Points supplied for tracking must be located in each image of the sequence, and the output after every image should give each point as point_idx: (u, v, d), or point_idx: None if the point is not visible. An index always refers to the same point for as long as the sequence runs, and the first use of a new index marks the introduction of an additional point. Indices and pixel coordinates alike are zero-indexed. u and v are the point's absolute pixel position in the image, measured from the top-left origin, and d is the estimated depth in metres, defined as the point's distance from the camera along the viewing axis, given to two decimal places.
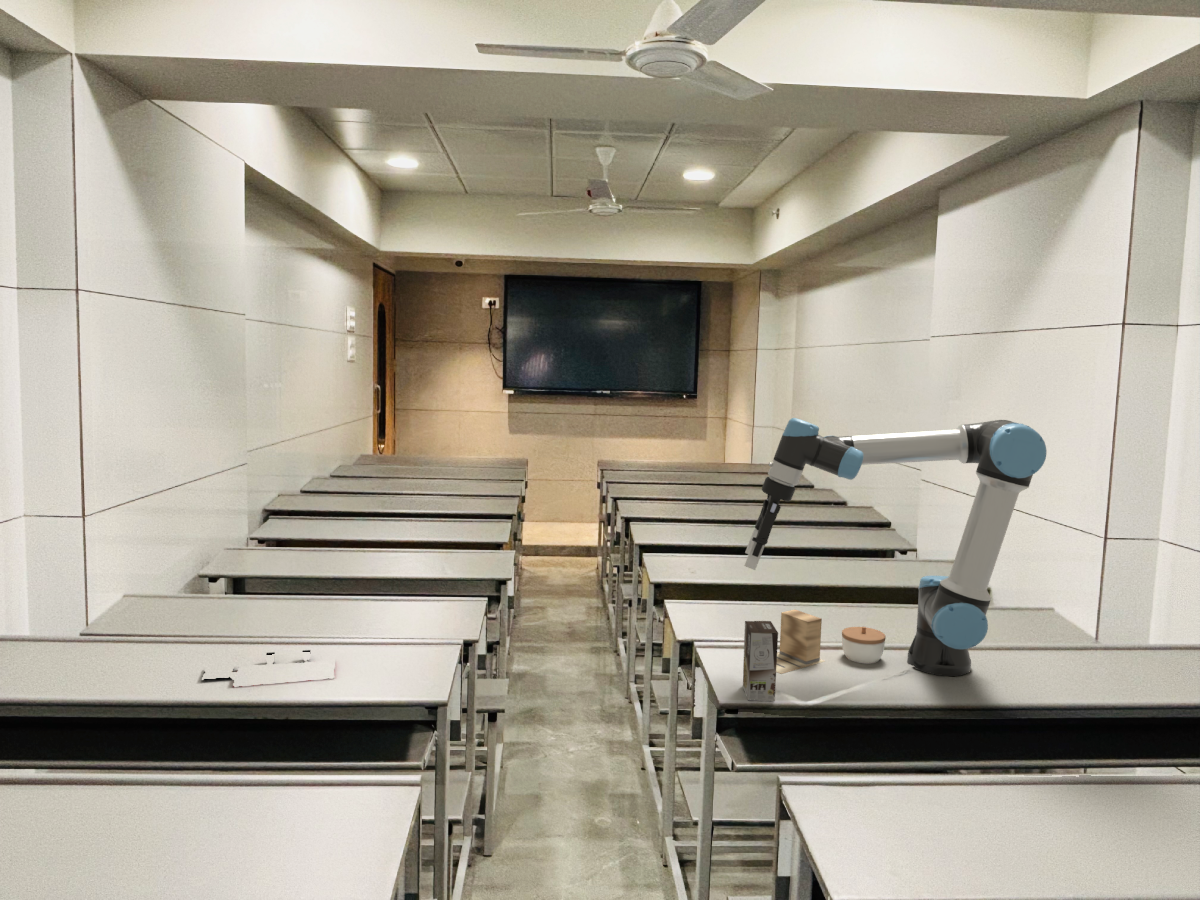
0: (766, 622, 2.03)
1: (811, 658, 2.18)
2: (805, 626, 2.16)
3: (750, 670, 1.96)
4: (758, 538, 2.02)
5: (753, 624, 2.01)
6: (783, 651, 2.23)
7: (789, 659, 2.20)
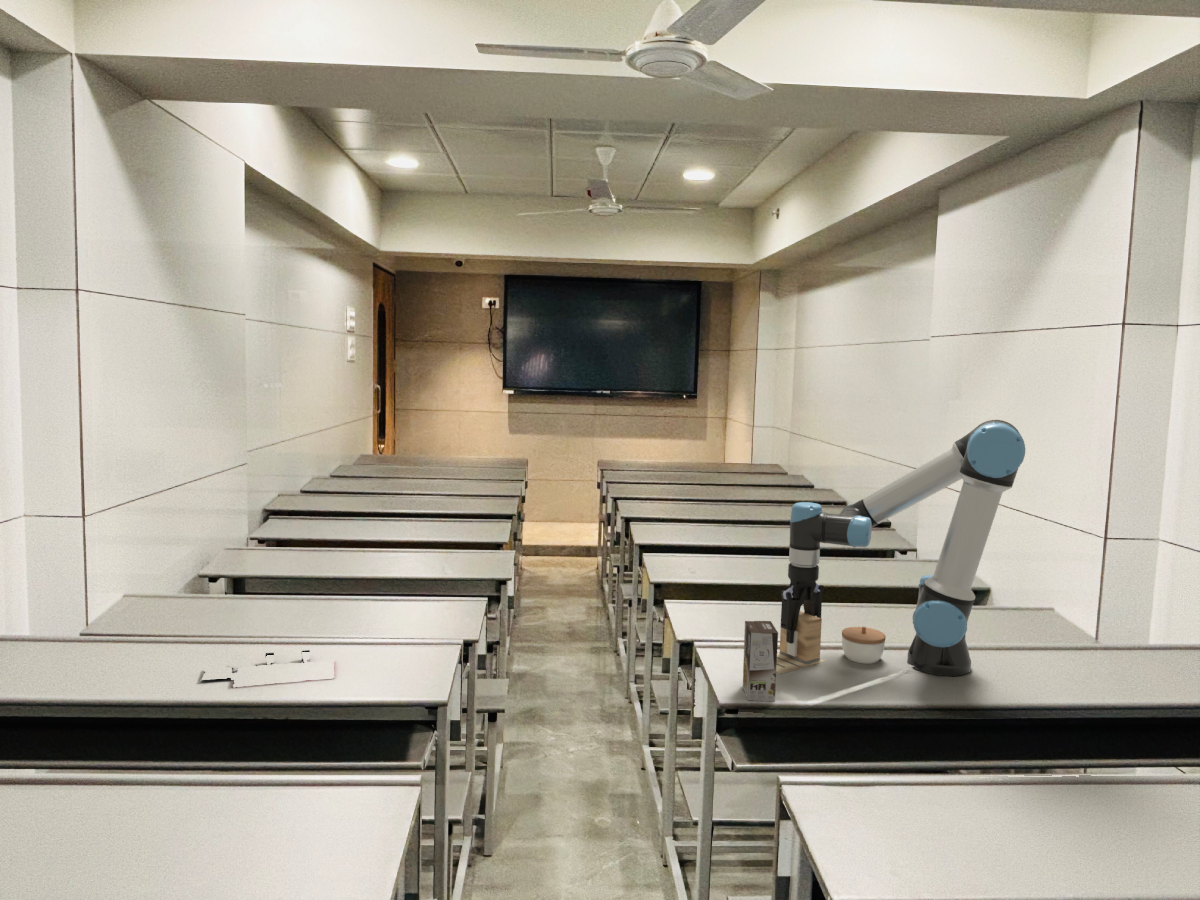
0: (766, 622, 2.03)
1: (811, 658, 2.18)
2: (805, 626, 2.16)
3: (750, 670, 1.96)
4: (781, 626, 2.18)
5: (753, 624, 2.01)
6: (783, 651, 2.23)
7: (789, 659, 2.20)
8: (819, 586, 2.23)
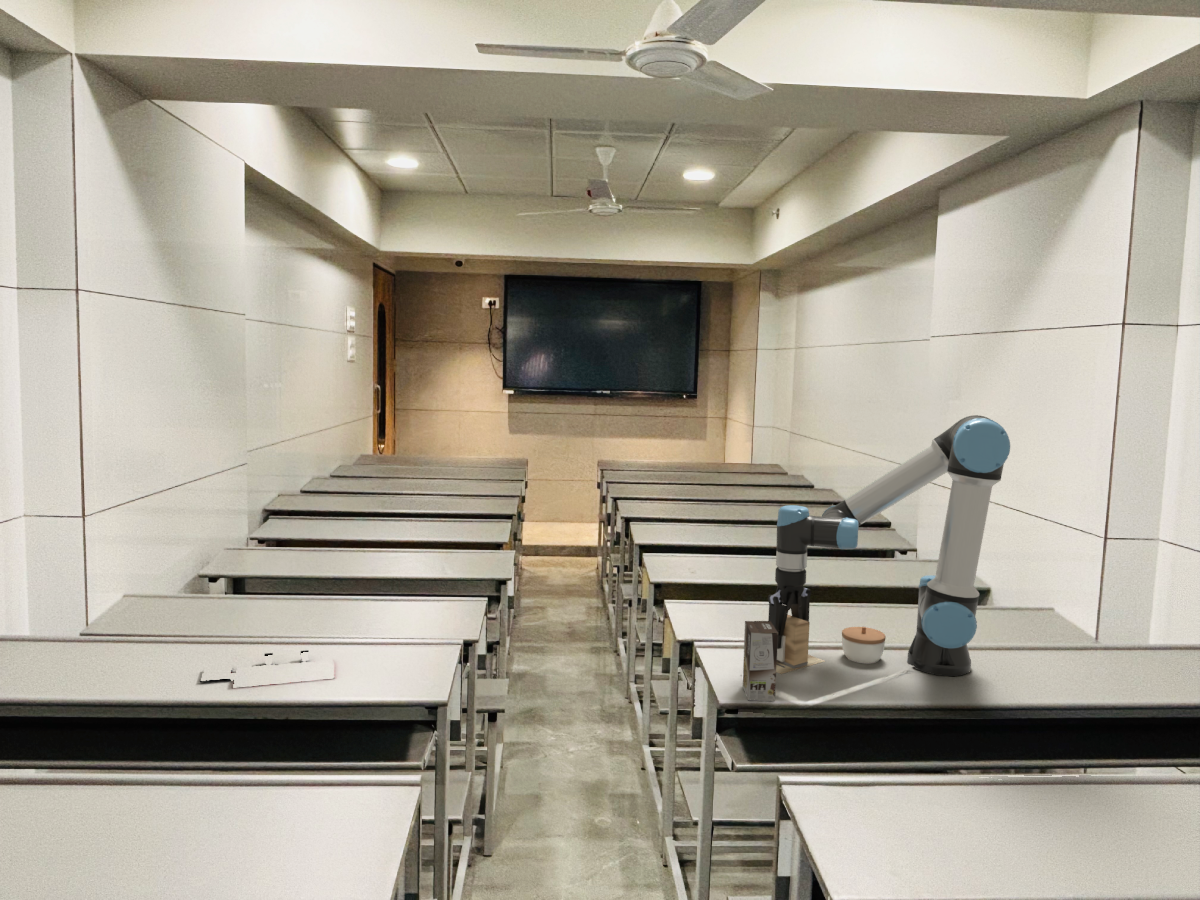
0: (766, 622, 2.03)
1: (799, 662, 2.15)
2: (793, 630, 2.13)
3: (750, 670, 1.96)
4: None
5: (753, 624, 2.01)
6: None
7: None
8: (807, 590, 2.20)
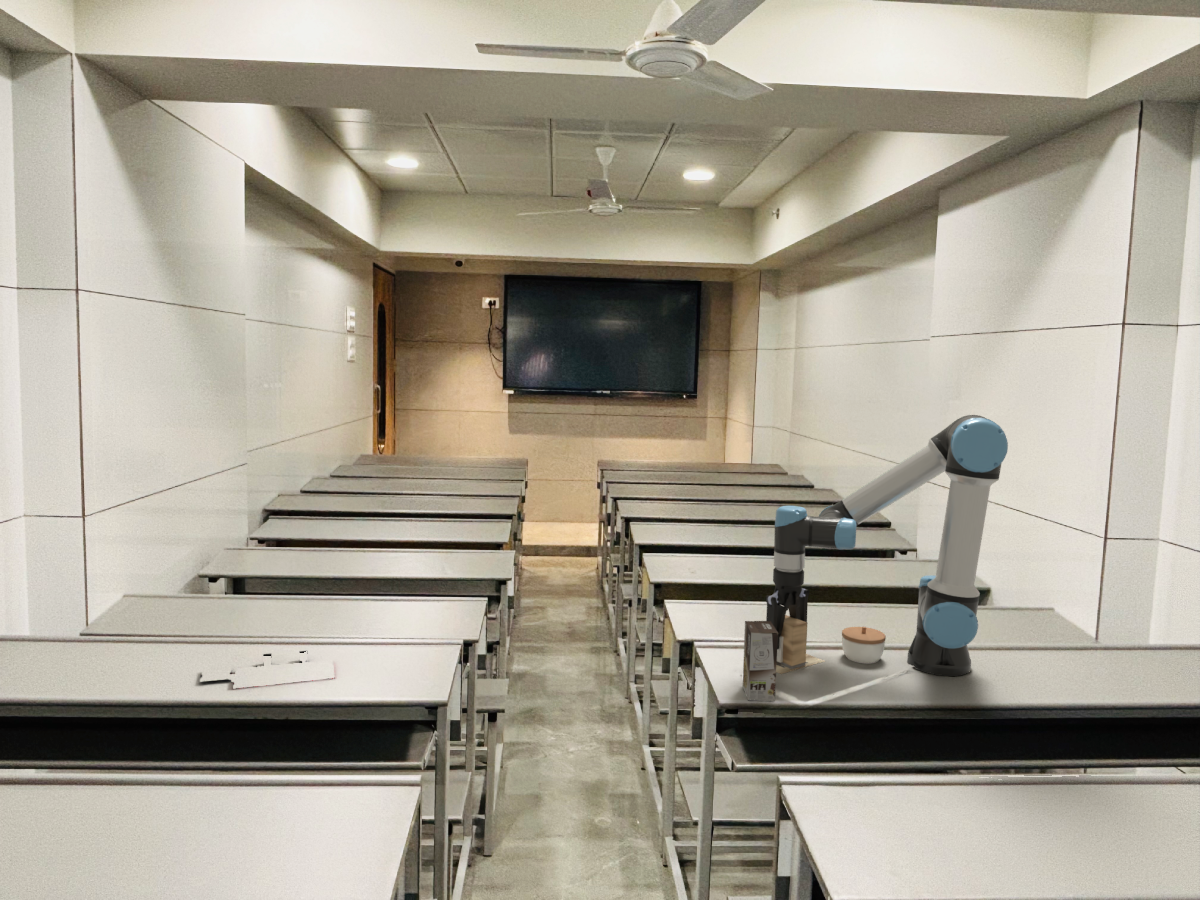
0: (766, 622, 2.03)
1: (797, 663, 2.15)
2: (791, 630, 2.13)
3: (750, 670, 1.96)
4: None
5: (753, 624, 2.01)
6: None
7: None
8: (805, 591, 2.19)
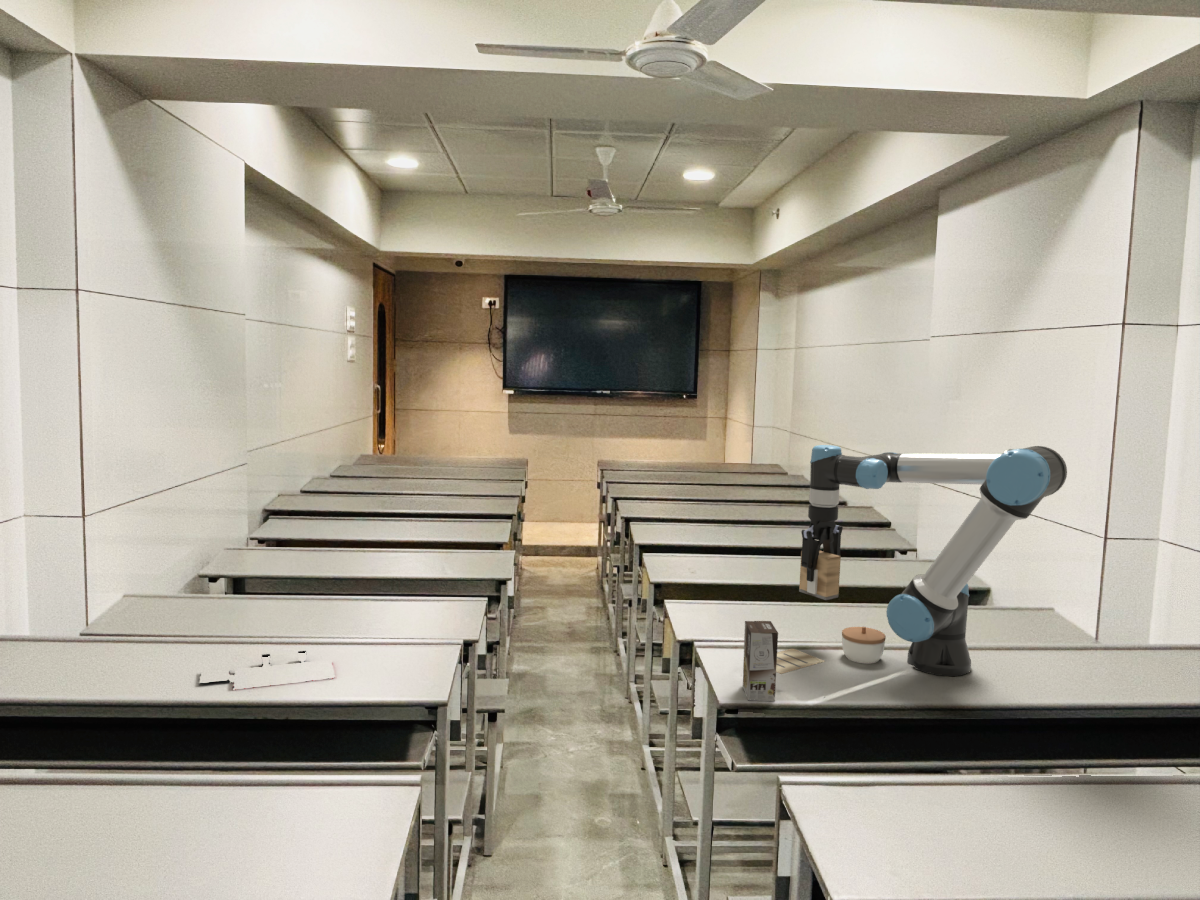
0: (766, 622, 2.03)
1: (830, 594, 2.25)
2: (825, 563, 2.24)
3: (750, 670, 1.96)
4: (802, 564, 2.25)
5: (753, 624, 2.01)
6: (803, 588, 2.30)
7: (789, 659, 2.20)
8: (838, 527, 2.30)
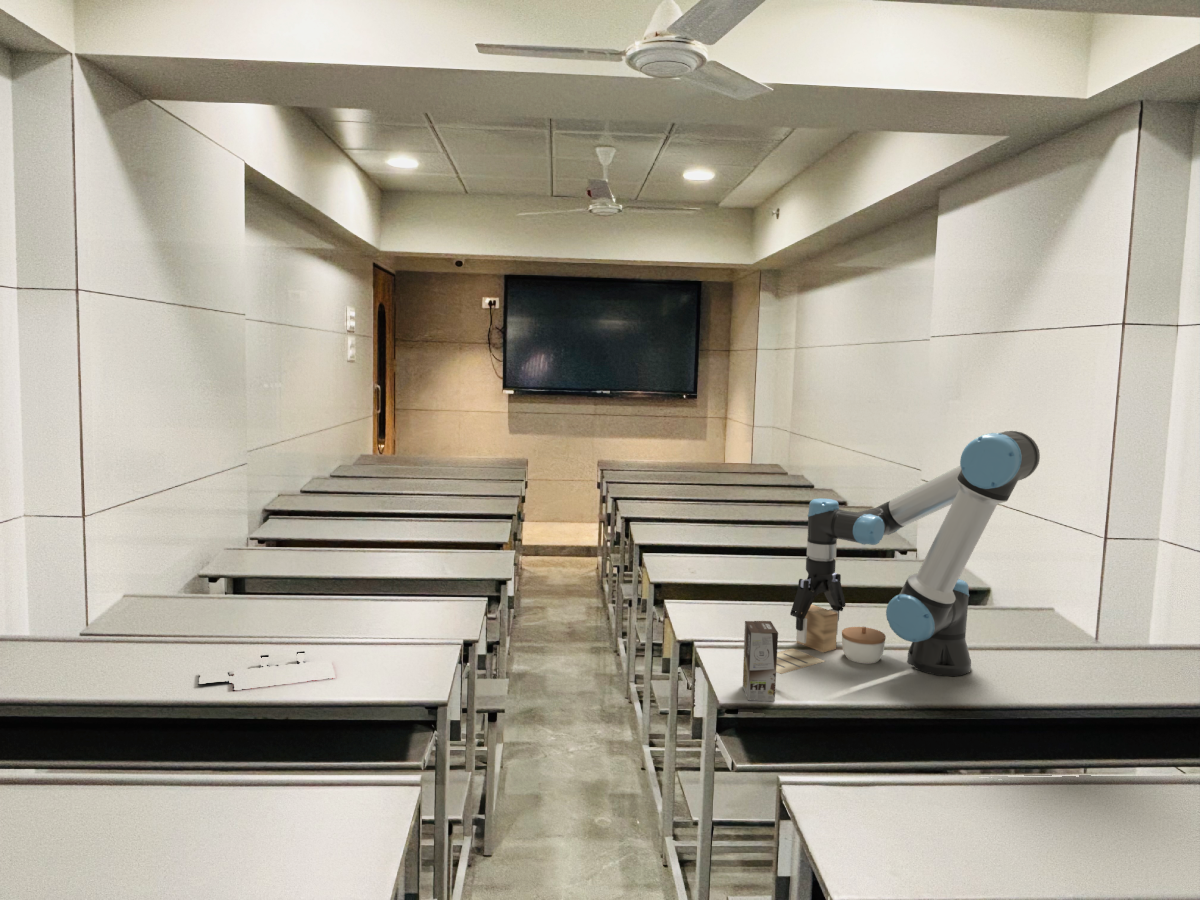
0: (766, 622, 2.03)
1: None
2: (822, 620, 2.25)
3: (750, 670, 1.96)
4: (791, 613, 2.25)
5: (753, 624, 2.01)
6: None
7: (789, 659, 2.20)
8: (836, 576, 2.31)
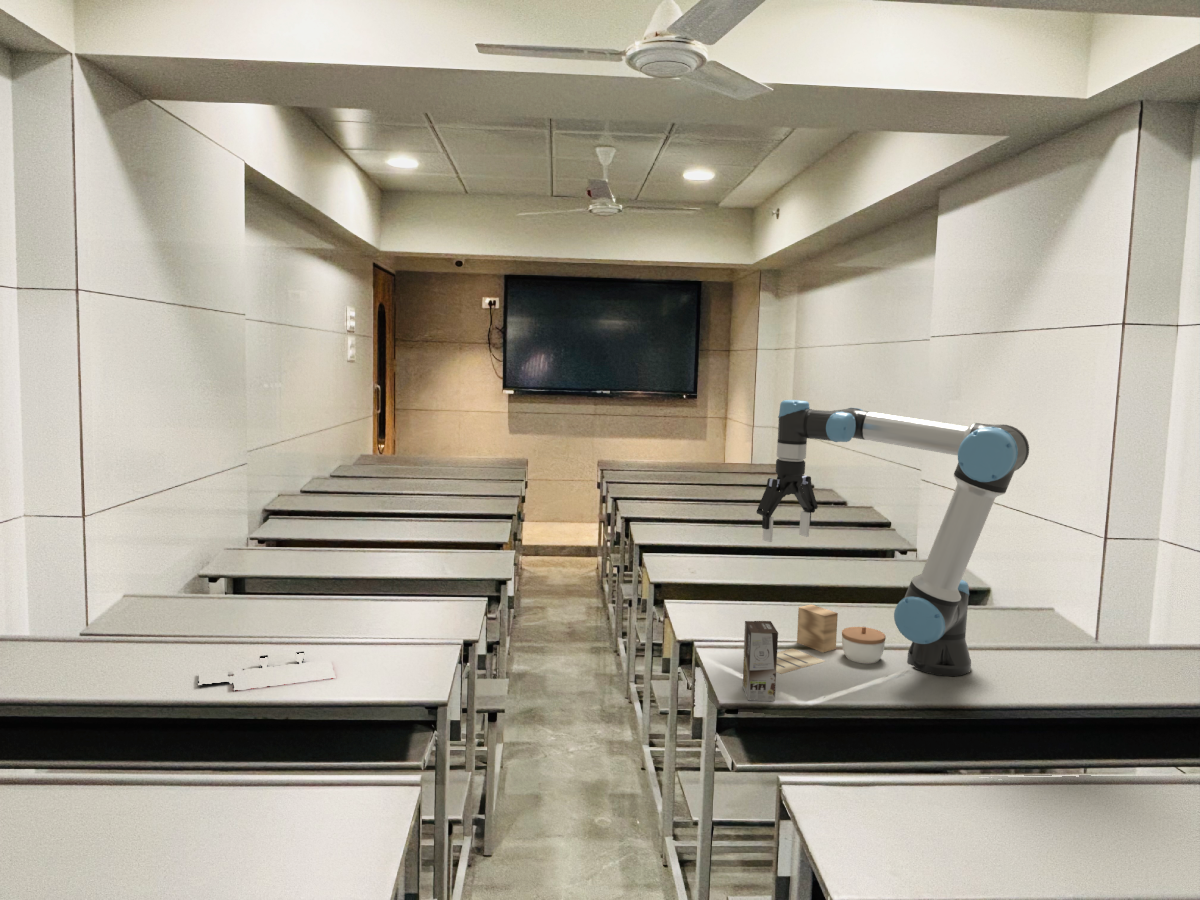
0: (766, 622, 2.03)
1: None
2: (822, 620, 2.25)
3: (750, 670, 1.96)
4: (757, 511, 2.24)
5: (753, 624, 2.01)
6: None
7: (789, 659, 2.20)
8: (806, 478, 2.31)
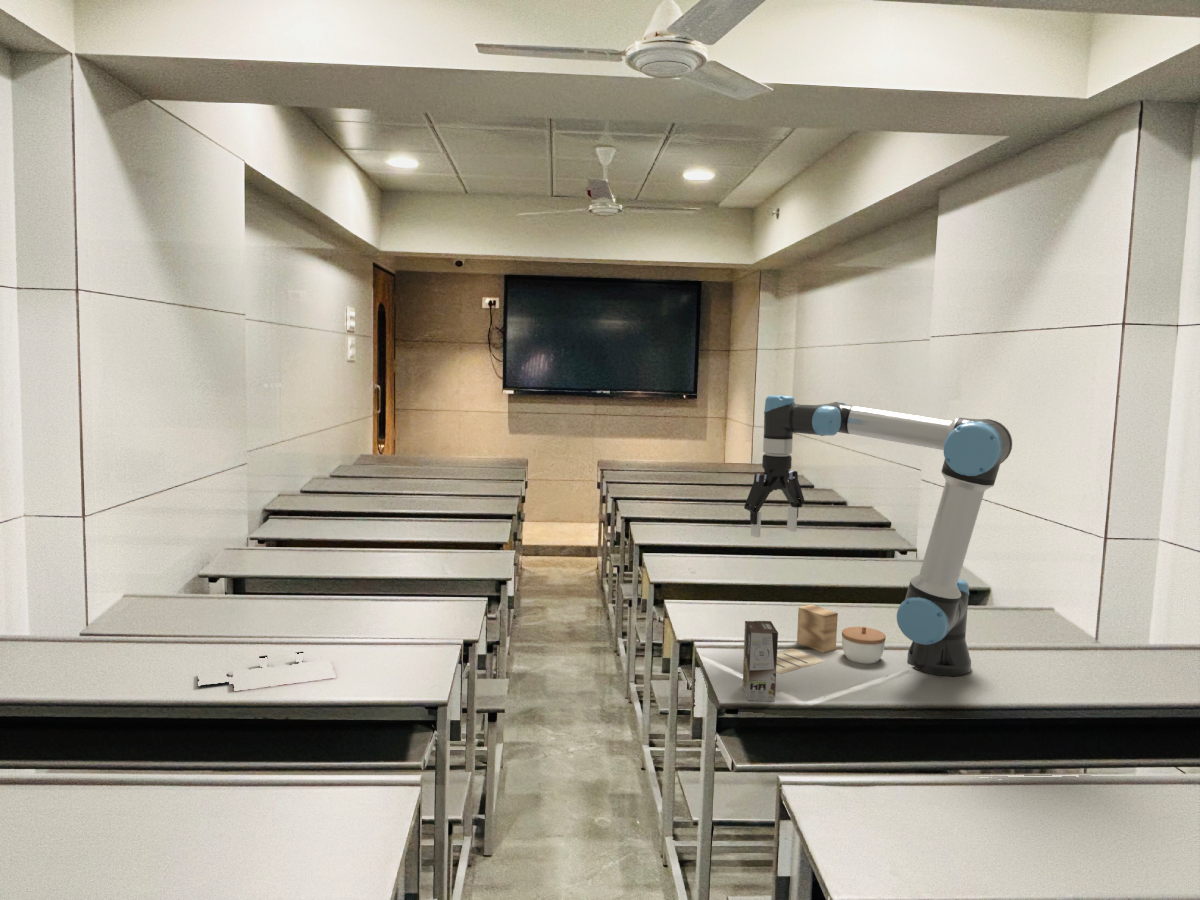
0: (766, 622, 2.03)
1: None
2: (822, 620, 2.25)
3: (750, 670, 1.96)
4: (745, 506, 2.25)
5: (753, 624, 2.01)
6: None
7: (789, 659, 2.20)
8: (793, 473, 2.31)
